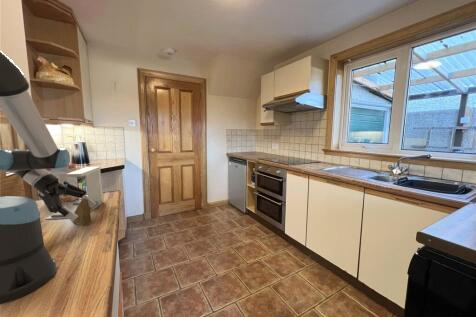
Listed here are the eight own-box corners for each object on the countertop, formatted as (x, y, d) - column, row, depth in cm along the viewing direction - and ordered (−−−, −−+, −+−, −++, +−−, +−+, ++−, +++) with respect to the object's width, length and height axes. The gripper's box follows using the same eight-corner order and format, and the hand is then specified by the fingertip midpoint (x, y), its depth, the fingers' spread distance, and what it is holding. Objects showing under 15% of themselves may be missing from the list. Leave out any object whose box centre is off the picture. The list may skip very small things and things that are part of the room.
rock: (97, 218, 88) (99, 208, 97) (80, 207, 84) (84, 196, 92) (74, 237, 86) (79, 224, 94) (56, 225, 82) (62, 213, 90)
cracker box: (80, 198, 120) (75, 163, 117) (71, 202, 114) (66, 165, 111) (58, 197, 122) (53, 162, 118) (48, 201, 116) (42, 164, 112)
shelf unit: (81, 217, 95) (75, 175, 91) (44, 219, 93) (38, 176, 90) (104, 201, 115) (100, 166, 112) (75, 202, 113) (70, 167, 110)
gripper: (57, 178, 98) (95, 206, 102) (7, 196, 73) (59, 232, 78) (68, 167, 97) (105, 196, 102) (21, 181, 73) (72, 218, 77)
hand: (85, 211), depth 90 cm, fingers open, 13 cm apart
